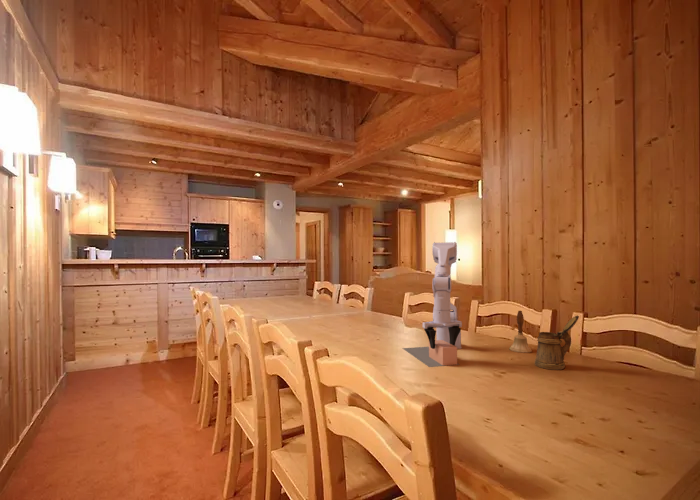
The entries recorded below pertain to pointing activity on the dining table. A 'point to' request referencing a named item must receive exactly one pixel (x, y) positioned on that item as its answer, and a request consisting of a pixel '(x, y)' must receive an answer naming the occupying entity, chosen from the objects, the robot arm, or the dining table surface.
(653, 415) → the dining table surface
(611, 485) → the dining table surface
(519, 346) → the hand bell
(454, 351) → the terracotta cover
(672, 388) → the dining table surface
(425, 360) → the charcoal mat
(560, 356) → the wooden mug
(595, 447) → the dining table surface
